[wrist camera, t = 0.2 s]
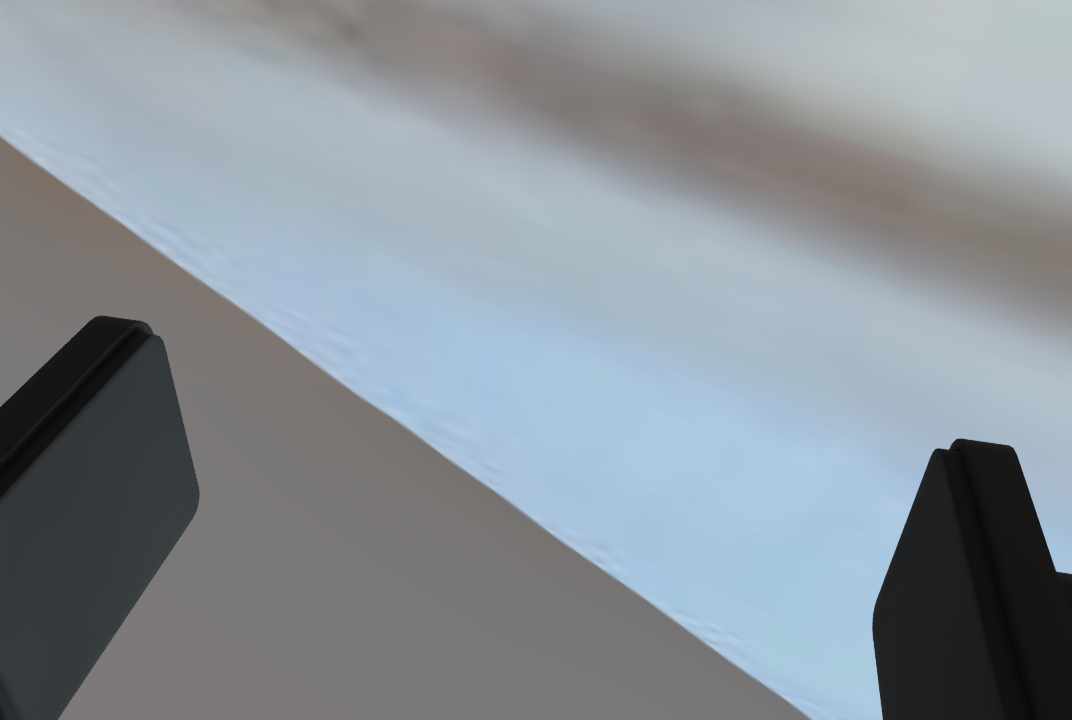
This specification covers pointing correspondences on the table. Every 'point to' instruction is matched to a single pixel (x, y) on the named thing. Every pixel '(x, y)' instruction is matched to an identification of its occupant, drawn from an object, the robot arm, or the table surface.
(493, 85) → the table surface
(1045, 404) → the table surface
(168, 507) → the robot arm
